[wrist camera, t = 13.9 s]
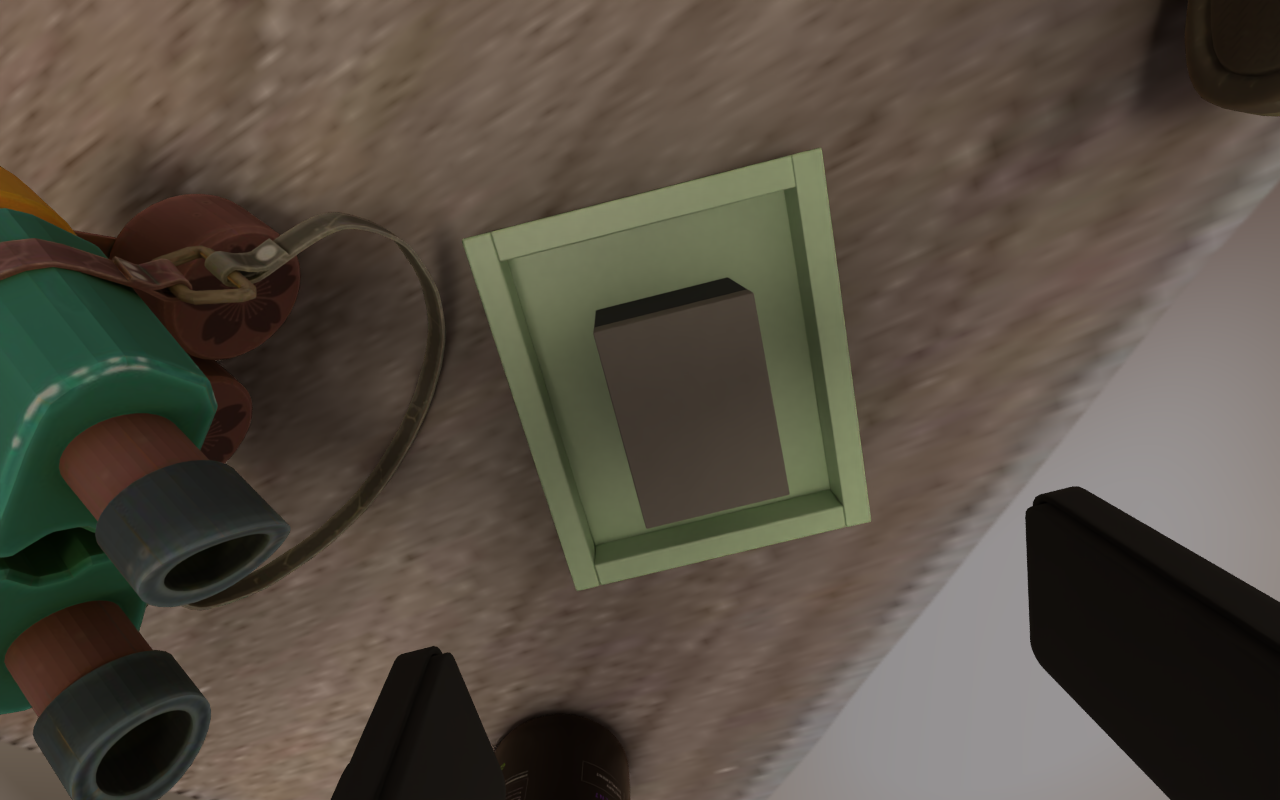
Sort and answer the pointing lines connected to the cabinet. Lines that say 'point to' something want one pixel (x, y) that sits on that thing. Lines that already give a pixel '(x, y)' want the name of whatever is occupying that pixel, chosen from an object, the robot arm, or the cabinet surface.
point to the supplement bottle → (563, 761)
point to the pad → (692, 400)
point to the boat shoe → (1235, 53)
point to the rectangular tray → (655, 264)
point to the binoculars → (141, 465)
